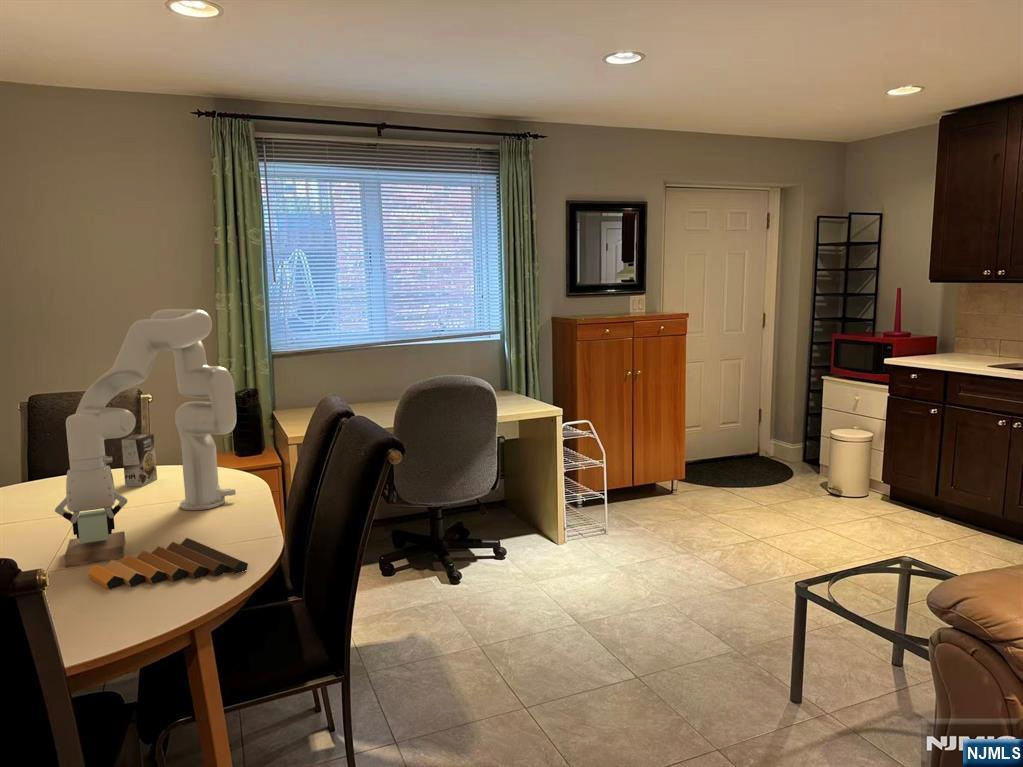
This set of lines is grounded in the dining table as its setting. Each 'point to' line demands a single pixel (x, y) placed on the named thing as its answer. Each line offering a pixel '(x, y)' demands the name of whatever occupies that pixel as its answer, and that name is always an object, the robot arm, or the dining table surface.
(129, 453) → the coffee box
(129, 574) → the pan flute
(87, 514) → the sage cube
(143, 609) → the dining table surface
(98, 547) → the walnut stand
